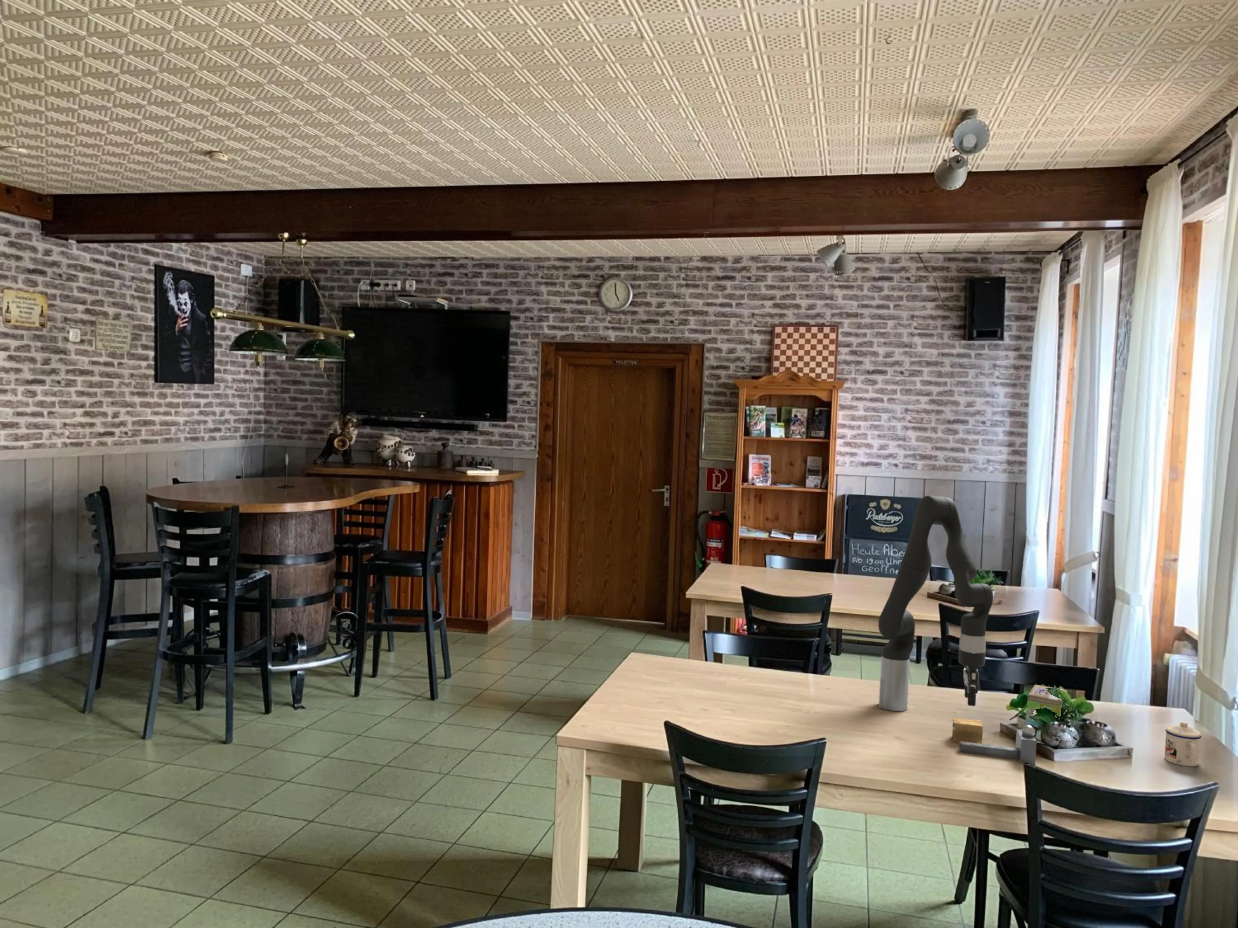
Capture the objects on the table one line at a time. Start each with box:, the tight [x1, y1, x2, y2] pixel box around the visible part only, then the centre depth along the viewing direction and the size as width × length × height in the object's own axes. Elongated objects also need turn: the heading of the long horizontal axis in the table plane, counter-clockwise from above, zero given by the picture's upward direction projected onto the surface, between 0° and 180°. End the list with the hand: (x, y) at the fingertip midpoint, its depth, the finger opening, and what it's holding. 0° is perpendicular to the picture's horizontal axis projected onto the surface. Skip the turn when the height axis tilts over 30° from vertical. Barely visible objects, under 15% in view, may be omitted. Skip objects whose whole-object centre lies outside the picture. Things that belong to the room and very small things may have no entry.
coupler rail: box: [958, 725, 1037, 765], centre depth 274 cm, size 20×9×10 cm, turn 75°
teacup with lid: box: [1164, 721, 1202, 767], centre depth 273 cm, size 12×9×12 cm
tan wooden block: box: [951, 717, 984, 744], centre depth 285 cm, size 8×6×6 cm
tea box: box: [1024, 684, 1069, 732], centre depth 290 cm, size 15×10×15 cm
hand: (969, 701), depth 285 cm, fingers open, 8 cm apart
